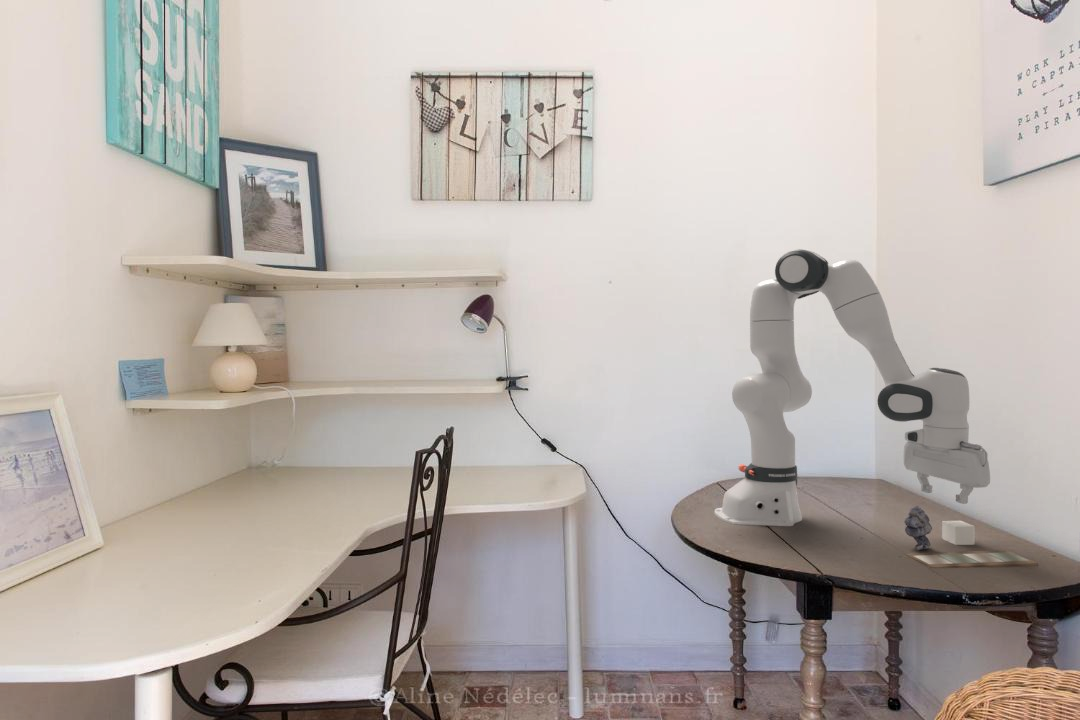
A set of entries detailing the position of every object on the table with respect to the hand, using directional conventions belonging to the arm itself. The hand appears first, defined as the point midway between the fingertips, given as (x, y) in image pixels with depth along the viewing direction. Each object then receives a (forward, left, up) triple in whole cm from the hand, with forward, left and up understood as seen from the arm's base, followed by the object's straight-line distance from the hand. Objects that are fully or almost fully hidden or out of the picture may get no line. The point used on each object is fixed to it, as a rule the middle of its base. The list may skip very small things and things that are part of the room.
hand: (943, 497), depth 142 cm
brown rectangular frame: (-3, -12, -11) cm, 16 cm away
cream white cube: (+4, 0, -11) cm, 11 cm away
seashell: (-9, -4, -11) cm, 14 cm away
